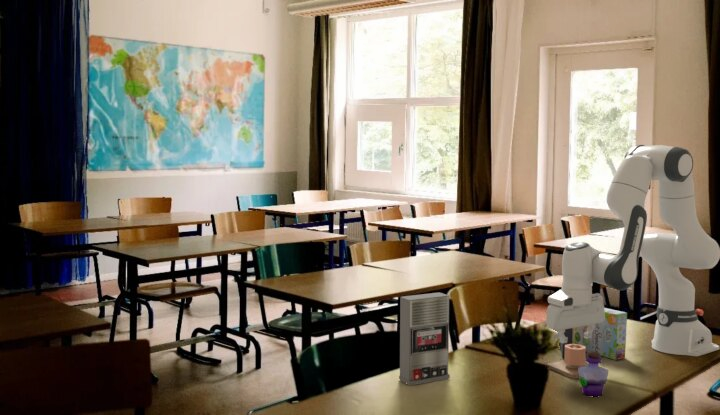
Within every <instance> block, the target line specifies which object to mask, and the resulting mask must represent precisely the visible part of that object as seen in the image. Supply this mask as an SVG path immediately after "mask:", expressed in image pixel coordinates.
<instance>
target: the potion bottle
mask: <svg viewBox="0 0 720 415" xmlns="http://www.w3.org/2000/svg"><path fill="white" fill-rule="evenodd" d="M585 362H586V363H588V365H587V366H581V367H579V368H578V373H579V384H580V385H581V389H582V395H583V396H586V397H587V396H593V397H592V398H594V397H597V398H599V397H598V396H602V397H603V391H604V388H605V384H606V382H607V380H608V375H609V369H607V368H604V367H602V366H599V364H601V363H602V356H600V353H599V352H594V351H589V352H587V354H585Z"/></svg>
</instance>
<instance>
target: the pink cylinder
mask: <svg viewBox="0 0 720 415" xmlns="http://www.w3.org/2000/svg"><path fill="white" fill-rule="evenodd" d="M573 347H577V348H573ZM563 361H564V363H566V364H568V365H574V366H581V365H585V362H586V347H585V346H583V345H580V344H567V345H565V355H564V359H563Z"/></svg>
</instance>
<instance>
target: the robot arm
mask: <svg viewBox="0 0 720 415" xmlns="http://www.w3.org/2000/svg"><path fill="white" fill-rule="evenodd" d="M693 168H694V159H693V156H692V154H691V152H690V151H689V150H688V149H686V148H684V147H681V146H670V145H665V144H656V145H655V144H652V145H651V144H650V145H645V144H638V145H633V146H632V147H630V148H629V149H628V150H627V152H626V153H625V155H624V158H623V160H622V161H621V163H620V164H619V166H618V168H617V170H616V172H615V174H614V176H613V178H612V180H611V183H610V185H609V188H608V191H607V195H606V203H607V206H608V208H609V210H610V211H611V212H612V213H613V214H614V215H616V216H617V217H618V218H619V219H620V220H621V221H622V222H623V226H624V227H623V233H622V238H621V243H620V246H619V250H618V252H617V253H616V254H611V253H608V252H606V251H601V250H599V249H596V248H593V247H592V246H591V244H589V243H588V242H578V241H577V242H572V243H569V244H568V245H566V246H565V247H564V250H563V252H562V253H563V254H562V258H561V275H562V283H561V289H559V290H557V291H556V292H554V293H553V294H550V295H549V296H548V297H547V302H548V304H549V305H548V306H547V309H546V318H545V320H546V328H547V327H549V328H551V329H553V330H555V331H557V332H558V335H559V336H560V342H561V343H567V342H568V341H567V340H568V337H565V335H564V333H565V329H570V328H576V327H581V326H587V327H588V328H587V331H586V332H584V338H585V339H591V338H592V332H593V330H594V328H595V324H599V323H603V322H604V320H605V310H604V308H605V305H604V297H603V295H601V294H600V292H599V293H598V292H596V293H593V292H592V291H593V288H592V287H593V286H592V283H597V284H599V285H603V286H607V287H609V288H612V289H614V290H617V291H625V290H627V289H629V288H630V287H632V286H633V285H634V283H635V282H636V280H637V277H638V273H639V261H640V260H639V259H640V257H641V258H642V260H643V261H644V262H646V263H647V264H648V265H649V267H650V268H651V269H652V271H653V272H654V275H655V277H656V280H657V284H658V285H657V286H658V305H657V307H656V317H657V320H656V321H655V326H654V333H653V339H651V348H652V349H653V350H655V351H658V352H661V353H665V354H669V355H670V354H671V355H679V356H680V355H681V356H690V357H699V356H703V355H706V354H710V353H712V352H715V351H718V350H720V345H718V344H717V343H713V335H712V332H711V330H710V329H709V328H708V327H707V326H706V325H705V324H703V323H702V322H701V321H700V320H699V317H698V316H701V317H702V316H703V315H704V311H703V309H700V308H696V309H695V302H696V301H695V299H696V298H695V297H696V296H695V295H696V288H695V285H694V284H693V282H691V281H690V280H689V279H688V278H687V277H685V276H684V275H683V274H682V273H681V271H680V268H683V269H690V270H706V269H707V270H709V269H713V268H714V267H716V265H717V264H718V262H719V261H720V245H719V243H718V242H717V240H715V239H714V238H712V237H711V236H709V234H708V233H707V232H706V231H705V230H704V229H703V227H702V225H701V223H700V221H699V218H698V216H697V207H696V197H695V196H696V195H695V194H696V193H695V192H696V191H695V182H694V177H693ZM652 181H658V182H657V184H658V186H657V196H658V200H657V201H658V216H659V218H660V220H661V221H662V222H663V223H665V224H666V225H667V226H668V227H671V228H672V230H673V231H674V232H675V233H671V232H662V231H661V232H660V231H659V232H651V233H647V234H645V232H646V227H647V222H648V213H647V210H646V209H645V203H646V202H645V201H646V199H647V198H646V197H647V195H648V192H649V189H650V187H651V186H650V185H651V182H652ZM561 343H560V344H561Z"/></svg>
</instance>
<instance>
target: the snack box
mask: <svg viewBox="0 0 720 415" xmlns="http://www.w3.org/2000/svg"><path fill="white" fill-rule="evenodd" d="M604 310H605V320H604V322H603V323H599V324H595V328H594V330H593V332H592V338H591V339H585V338H584V332H586V331H587V328H588V327H587V326H581V327H576V328H574V333H575V335H574V344H580V345H583V346H585V347H586V351H585V353H586V352H587V353H588V352H589V351H594V352H599V353H600V356H601V357H604V358H608V359H611V360H615V361H616V360H620V359H625V358H626V347H627V346H626V345H627V323H628V321H627V320H628V312H625V311H620V310H615V309H612V308H607V307H604Z"/></svg>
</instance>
